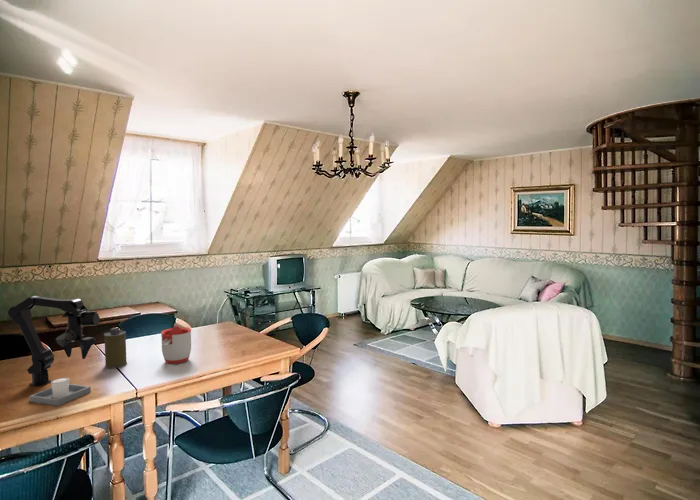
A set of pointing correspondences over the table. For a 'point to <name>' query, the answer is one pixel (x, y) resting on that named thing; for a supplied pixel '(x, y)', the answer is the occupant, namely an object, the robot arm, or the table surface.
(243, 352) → the table surface
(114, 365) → the canister
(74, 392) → the tray
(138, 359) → the table surface
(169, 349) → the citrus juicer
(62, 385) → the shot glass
